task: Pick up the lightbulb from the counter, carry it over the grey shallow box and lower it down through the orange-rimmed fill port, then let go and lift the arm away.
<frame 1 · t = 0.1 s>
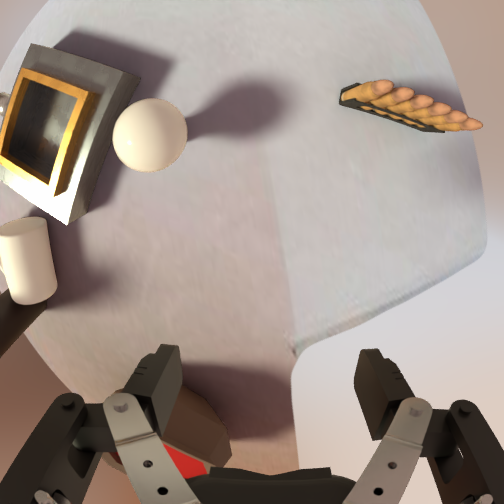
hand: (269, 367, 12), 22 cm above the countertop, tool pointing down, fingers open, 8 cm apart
grey shallow box: (63, 125, 29), on the countertop
brown cauldron: (172, 404, 47), on the countertop
mug: (34, 246, 36), on the countertop
lightbulb: (177, 133, 30), on the countertop
ammunition clip: (384, 110, 27), on the countertop
bottle: (34, 293, 39), on the countertop
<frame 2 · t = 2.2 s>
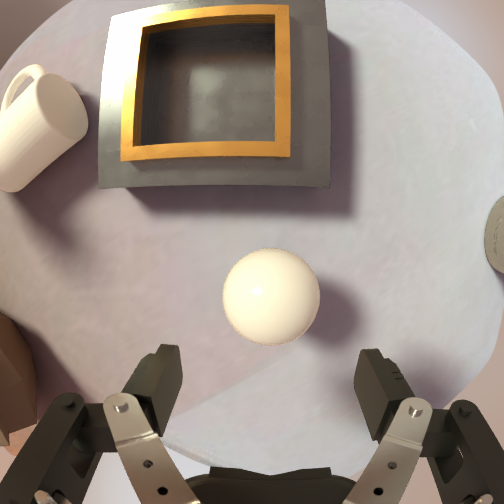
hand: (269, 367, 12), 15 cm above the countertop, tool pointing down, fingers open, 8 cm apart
grey shallow box: (216, 94, 23), on the countertop
brown cauldron: (7, 345, 33), on the countertop
mug: (51, 121, 25), on the countertop
lightbulb: (270, 261, 27), on the countertop
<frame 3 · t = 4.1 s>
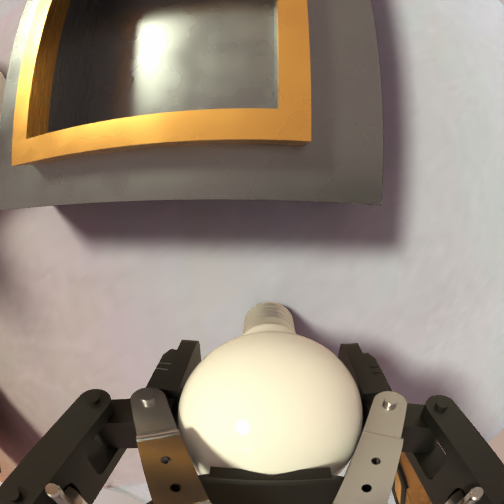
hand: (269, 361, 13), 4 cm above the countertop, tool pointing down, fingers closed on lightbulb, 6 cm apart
grey shallow box: (180, 51, 13), on the countertop
lightbulb: (268, 317, 17), on the countertop, touching gripper
ammunition clip: (399, 465, 21), on the countertop
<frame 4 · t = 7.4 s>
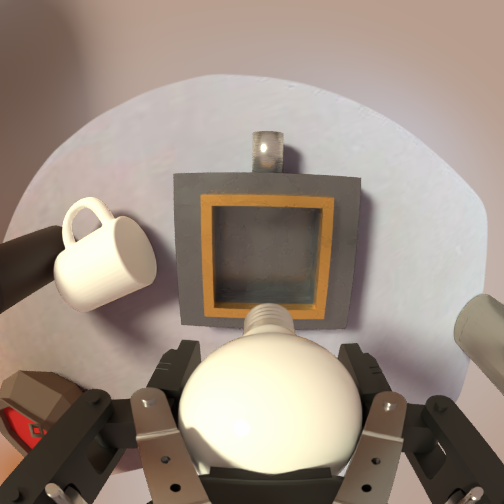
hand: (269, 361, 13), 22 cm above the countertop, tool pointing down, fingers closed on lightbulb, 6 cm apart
grey shallow box: (265, 245, 33), on the countertop
brown cauldron: (68, 401, 43), on the countertop
mug: (112, 242, 34), on the countertop
lightbulb: (268, 317, 17), point 17 cm above the countertop, touching gripper
bottle: (60, 248, 35), on the countertop
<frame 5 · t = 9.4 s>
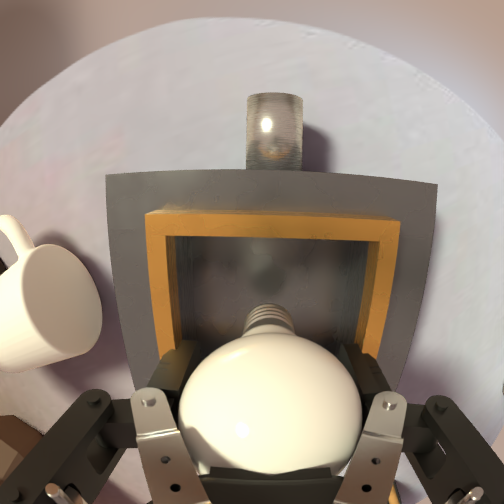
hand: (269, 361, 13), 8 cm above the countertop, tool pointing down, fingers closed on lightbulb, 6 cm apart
grey shallow box: (269, 291, 20), on the countertop
brown cauldron: (36, 445, 30), on the countertop
mug: (48, 275, 21), on the countertop
lightbulb: (268, 317, 17), point 4 cm above the countertop, touching gripper
ammunition clip: (387, 493, 28), on the countertop
when the fingers open (7 cm above the countertop, at t = 10.8 s): lightbulb drops 2 cm, resting on grey shallow box.
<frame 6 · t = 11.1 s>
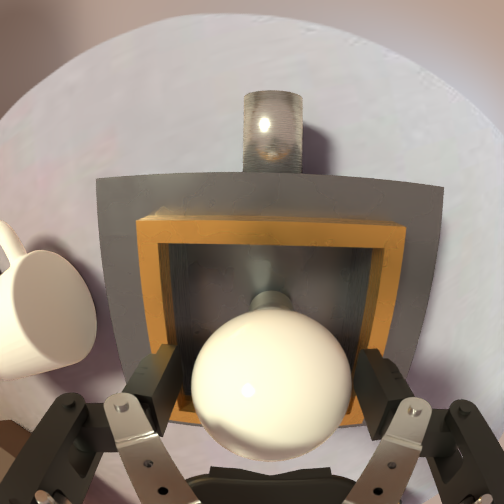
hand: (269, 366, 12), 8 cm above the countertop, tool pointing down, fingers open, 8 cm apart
grey shallow box: (268, 297, 20), on the countertop
brown cauldron: (34, 450, 29), on the countertop
mug: (42, 281, 21), on the countertop
lightbulb: (271, 305, 19), point 1 cm above the countertop, touching grey shallow box
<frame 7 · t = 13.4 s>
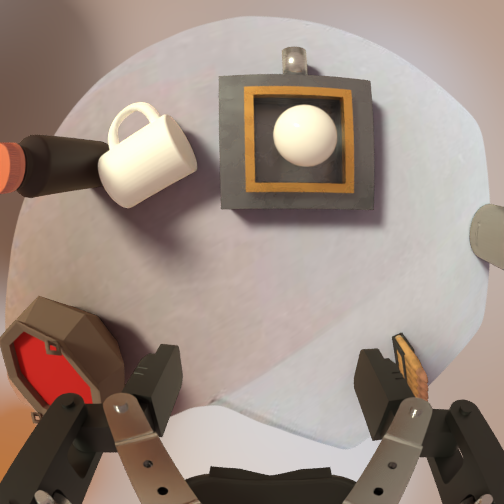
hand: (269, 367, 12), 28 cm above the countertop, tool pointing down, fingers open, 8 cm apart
grey shallow box: (295, 143, 36), on the countertop
brown cauldron: (86, 341, 46), on the countertop
mug: (153, 150, 37), on the countertop
lightbulb: (297, 143, 35), point 1 cm above the countertop, touching grey shallow box
ammunition clip: (400, 357, 44), on the countertop
bottle: (98, 164, 38), on the countertop
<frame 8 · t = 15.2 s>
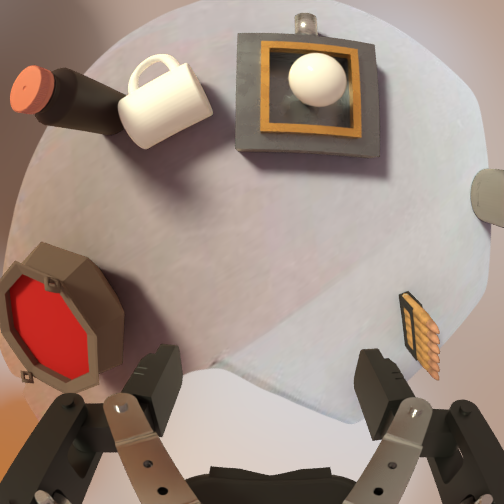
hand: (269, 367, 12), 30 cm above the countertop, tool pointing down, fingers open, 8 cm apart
grey shallow box: (305, 97, 36), on the countertop
brown cauldron: (85, 298, 46), on the countertop
mug: (169, 100, 37), on the countertop
lightbulb: (307, 97, 35), point 1 cm above the countertop, touching grey shallow box
ammunition clip: (406, 319, 44), on the countertop
bottle: (114, 114, 38), on the countertop
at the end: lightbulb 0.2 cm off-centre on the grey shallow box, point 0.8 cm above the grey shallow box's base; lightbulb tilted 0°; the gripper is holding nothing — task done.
